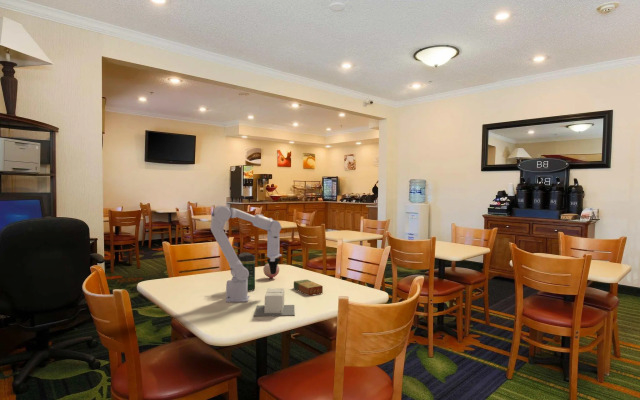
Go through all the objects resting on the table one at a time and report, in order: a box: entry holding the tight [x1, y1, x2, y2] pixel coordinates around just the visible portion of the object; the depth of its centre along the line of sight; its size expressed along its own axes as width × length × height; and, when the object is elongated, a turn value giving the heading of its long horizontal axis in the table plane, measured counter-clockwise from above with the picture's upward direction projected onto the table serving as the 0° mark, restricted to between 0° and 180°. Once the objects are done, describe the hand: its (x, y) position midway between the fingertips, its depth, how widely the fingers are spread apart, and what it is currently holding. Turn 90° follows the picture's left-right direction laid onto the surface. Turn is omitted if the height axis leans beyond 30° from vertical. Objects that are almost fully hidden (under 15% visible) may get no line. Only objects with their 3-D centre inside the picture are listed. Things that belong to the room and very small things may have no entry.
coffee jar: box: [237, 252, 256, 292], centre depth 183 cm, size 10×8×19 cm
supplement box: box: [264, 287, 285, 314], centre depth 151 cm, size 7×7×13 cm
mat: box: [253, 304, 296, 317], centre depth 150 cm, size 16×13×1 cm
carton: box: [293, 279, 324, 296], centre depth 182 cm, size 8×16×4 cm, turn 31°
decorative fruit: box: [263, 262, 280, 279], centre depth 207 cm, size 9×8×10 cm
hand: (273, 273), depth 173 cm, fingers closed
